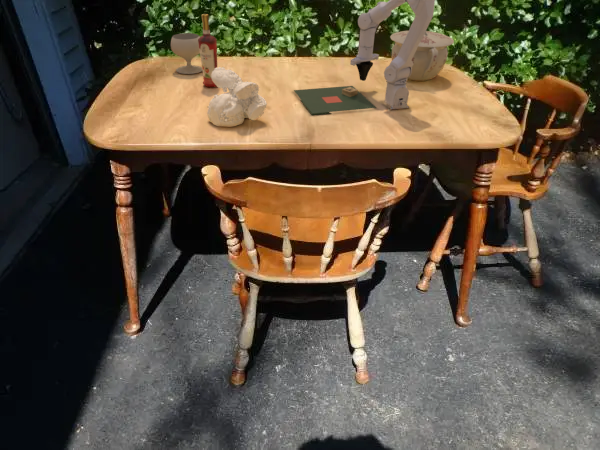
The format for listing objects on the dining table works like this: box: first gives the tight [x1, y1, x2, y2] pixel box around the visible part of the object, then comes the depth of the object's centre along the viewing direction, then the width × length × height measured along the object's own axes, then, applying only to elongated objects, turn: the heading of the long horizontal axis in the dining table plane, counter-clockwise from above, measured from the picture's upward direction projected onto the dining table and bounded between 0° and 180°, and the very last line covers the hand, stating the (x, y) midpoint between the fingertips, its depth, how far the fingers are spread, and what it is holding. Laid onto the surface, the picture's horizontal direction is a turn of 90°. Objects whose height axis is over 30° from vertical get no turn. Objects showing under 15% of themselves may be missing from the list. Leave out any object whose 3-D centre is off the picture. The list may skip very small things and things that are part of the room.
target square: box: [322, 96, 342, 103], centre depth 187 cm, size 6×6×1 cm
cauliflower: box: [206, 66, 268, 128], centre depth 167 cm, size 19×20×20 cm
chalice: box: [170, 32, 203, 75], centre depth 212 cm, size 14×14×15 cm
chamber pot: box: [389, 30, 455, 82], centre depth 210 cm, size 28×28×21 cm
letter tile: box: [342, 87, 359, 97], centre depth 192 cm, size 4×4×2 cm
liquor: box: [198, 13, 218, 88], centre depth 192 cm, size 7×7×28 cm
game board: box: [293, 85, 377, 116], centre depth 188 cm, size 26×26×1 cm
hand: (362, 79), depth 194 cm, fingers closed
